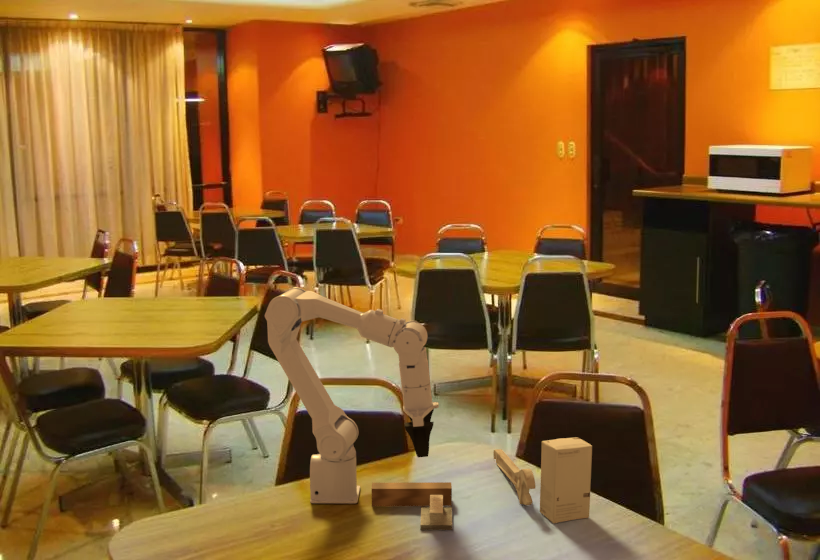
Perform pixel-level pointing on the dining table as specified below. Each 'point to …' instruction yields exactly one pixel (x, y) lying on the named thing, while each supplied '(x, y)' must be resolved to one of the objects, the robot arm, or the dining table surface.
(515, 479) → the wrench
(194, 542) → the dining table surface
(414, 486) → the walnut bar
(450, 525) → the ridge
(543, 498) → the skincare box
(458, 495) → the dining table surface
